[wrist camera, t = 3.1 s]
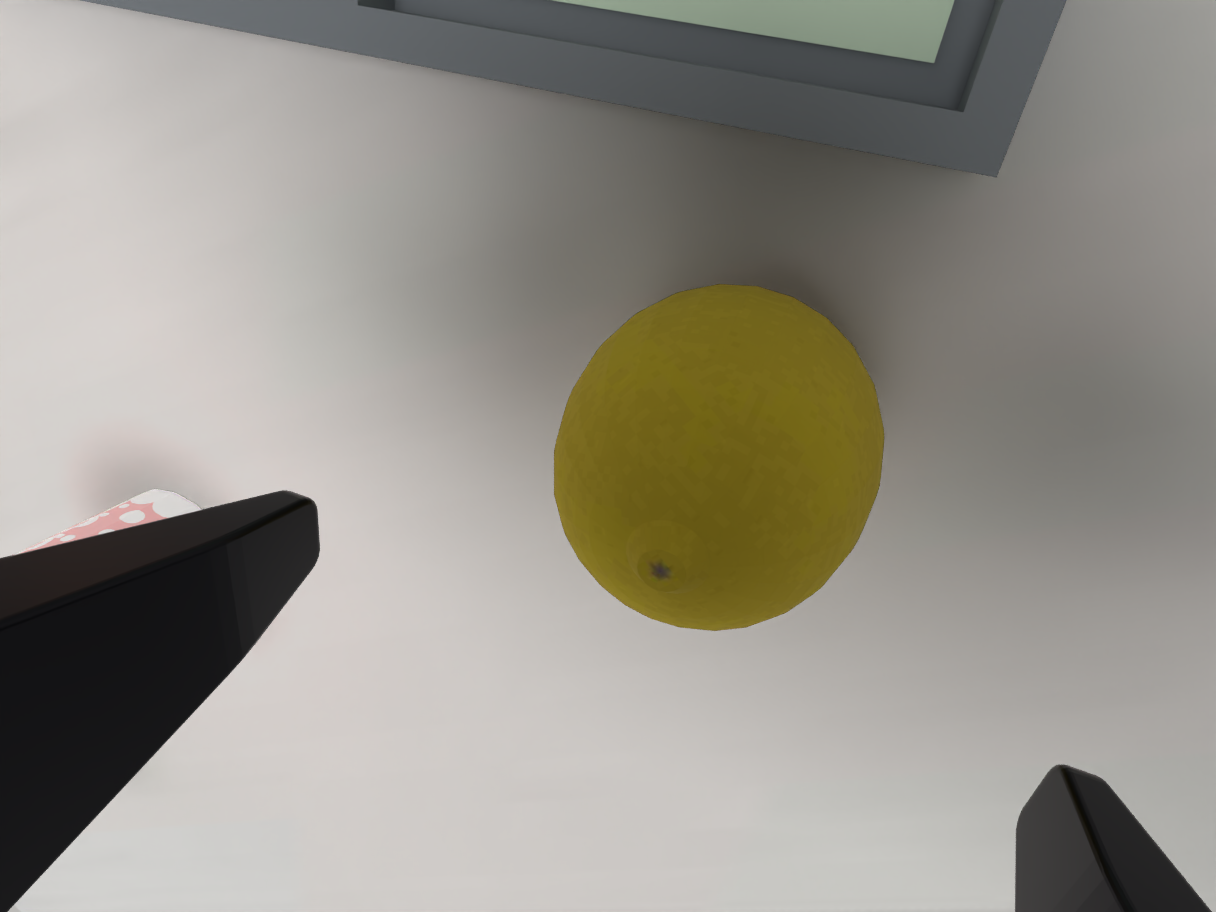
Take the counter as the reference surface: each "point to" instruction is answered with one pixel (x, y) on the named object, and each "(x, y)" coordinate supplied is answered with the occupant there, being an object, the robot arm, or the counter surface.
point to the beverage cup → (124, 516)
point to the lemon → (719, 457)
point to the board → (714, 59)
